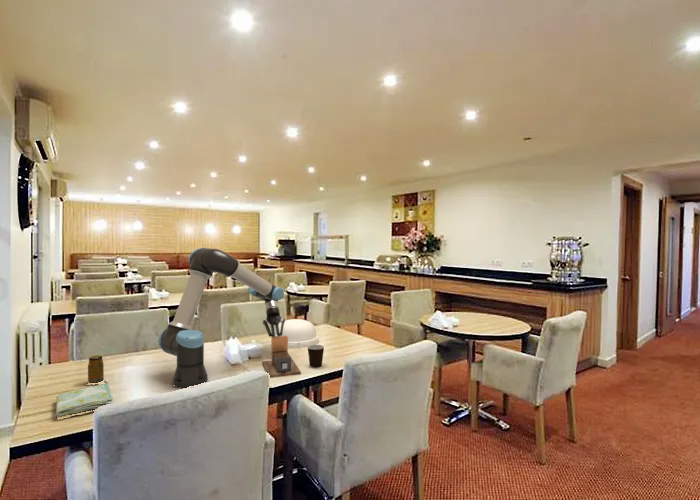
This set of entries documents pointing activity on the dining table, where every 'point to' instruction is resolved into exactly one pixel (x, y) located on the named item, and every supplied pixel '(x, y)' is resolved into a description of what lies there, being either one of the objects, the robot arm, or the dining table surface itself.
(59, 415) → the towel
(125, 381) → the dining table surface
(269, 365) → the base board
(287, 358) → the block
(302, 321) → the dome cover
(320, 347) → the coffee mug
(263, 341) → the dining table surface
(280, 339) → the wooden upright block
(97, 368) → the condiment
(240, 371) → the dining table surface
